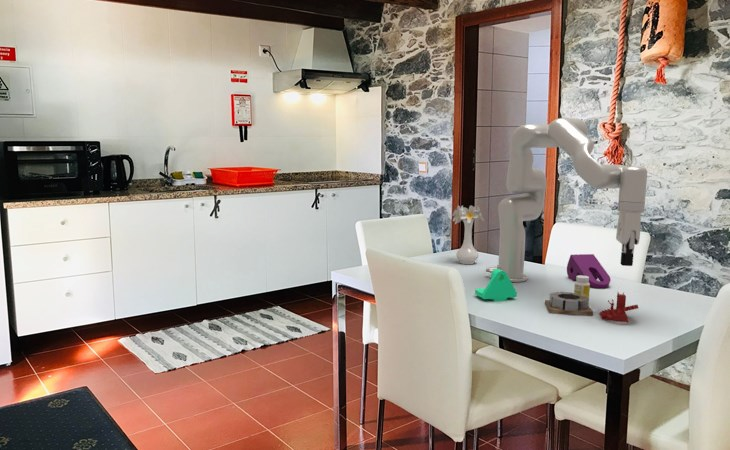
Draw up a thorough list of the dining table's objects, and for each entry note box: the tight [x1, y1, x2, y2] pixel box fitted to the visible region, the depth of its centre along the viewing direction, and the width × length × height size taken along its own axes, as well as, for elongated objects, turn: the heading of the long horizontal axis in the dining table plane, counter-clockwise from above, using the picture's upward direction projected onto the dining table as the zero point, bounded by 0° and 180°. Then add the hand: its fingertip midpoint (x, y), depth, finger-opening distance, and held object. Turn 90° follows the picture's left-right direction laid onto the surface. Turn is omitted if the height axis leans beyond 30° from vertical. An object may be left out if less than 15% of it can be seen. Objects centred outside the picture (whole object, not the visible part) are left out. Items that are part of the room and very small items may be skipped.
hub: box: [548, 291, 590, 311], centre depth 194 cm, size 11×11×4 cm
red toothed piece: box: [598, 291, 639, 323], centre depth 185 cm, size 11×12×8 cm
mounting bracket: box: [566, 253, 612, 289], centre depth 231 cm, size 9×8×18 cm
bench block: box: [544, 299, 594, 317], centre depth 194 cm, size 13×11×1 cm
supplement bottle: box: [573, 275, 591, 300], centre depth 204 cm, size 5×5×8 cm
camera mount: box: [474, 269, 518, 302], centre depth 207 cm, size 12×8×10 cm, turn 106°
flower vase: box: [451, 205, 485, 265], centre depth 261 cm, size 13×18×25 cm
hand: (626, 265), depth 191 cm, fingers closed
